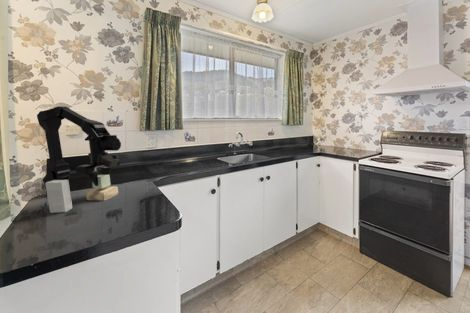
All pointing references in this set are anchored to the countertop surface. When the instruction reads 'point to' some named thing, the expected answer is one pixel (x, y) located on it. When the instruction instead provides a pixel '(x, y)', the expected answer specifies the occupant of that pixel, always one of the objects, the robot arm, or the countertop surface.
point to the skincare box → (59, 196)
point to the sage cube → (102, 181)
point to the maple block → (102, 193)
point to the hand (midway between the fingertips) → (101, 184)
